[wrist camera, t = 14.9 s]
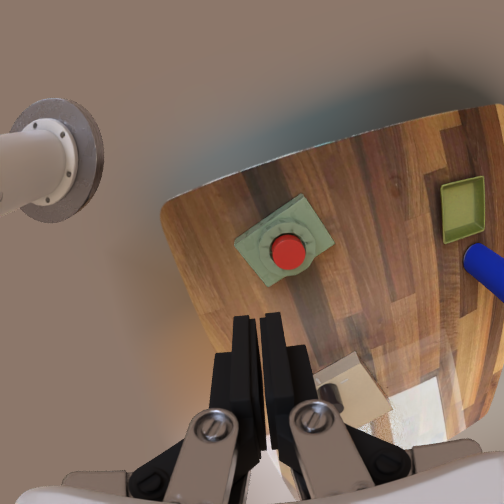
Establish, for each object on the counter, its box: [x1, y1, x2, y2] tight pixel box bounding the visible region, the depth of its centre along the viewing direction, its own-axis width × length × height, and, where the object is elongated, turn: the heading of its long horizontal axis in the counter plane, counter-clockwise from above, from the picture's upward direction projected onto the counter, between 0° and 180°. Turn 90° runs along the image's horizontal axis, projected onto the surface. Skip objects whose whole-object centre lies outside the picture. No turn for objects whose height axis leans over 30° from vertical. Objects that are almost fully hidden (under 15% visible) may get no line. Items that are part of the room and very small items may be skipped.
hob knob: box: [317, 383, 344, 414], centre depth 43 cm, size 4×4×5 cm
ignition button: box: [272, 234, 305, 270], centre depth 34 cm, size 4×4×2 cm
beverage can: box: [463, 243, 504, 303], centre depth 33 cm, size 5×5×15 cm
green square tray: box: [440, 176, 485, 244], centre depth 36 cm, size 9×9×2 cm
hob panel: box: [313, 351, 393, 429], centre depth 48 cm, size 14×20×3 cm
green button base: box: [234, 193, 335, 287], centre depth 36 cm, size 10×7×4 cm
